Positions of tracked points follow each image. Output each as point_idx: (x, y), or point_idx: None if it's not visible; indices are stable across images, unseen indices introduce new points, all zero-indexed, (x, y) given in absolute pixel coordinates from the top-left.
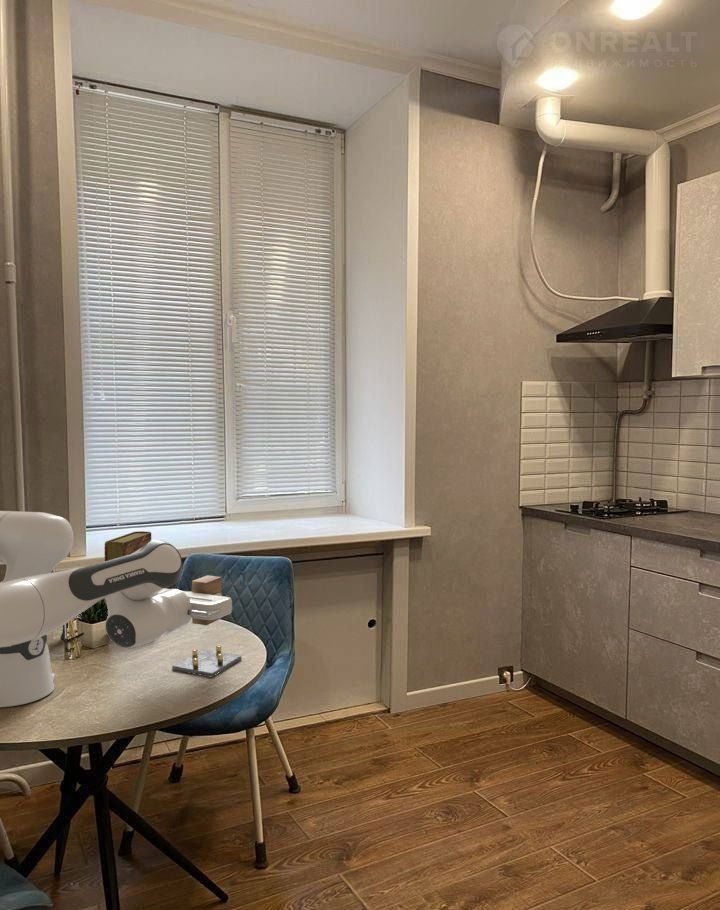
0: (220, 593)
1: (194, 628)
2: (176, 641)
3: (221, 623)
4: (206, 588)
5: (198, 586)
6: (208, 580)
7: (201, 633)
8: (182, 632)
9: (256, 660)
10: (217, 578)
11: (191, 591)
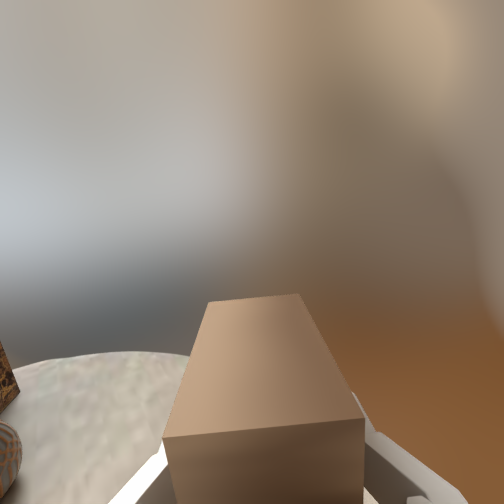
0: (355, 395)
1: (122, 394)
2: (89, 483)
3: (168, 358)
4: (362, 464)
5: (259, 469)
6: (300, 354)
7: (145, 408)
8: (98, 422)
9: None
10: (307, 310)
11: (151, 465)
